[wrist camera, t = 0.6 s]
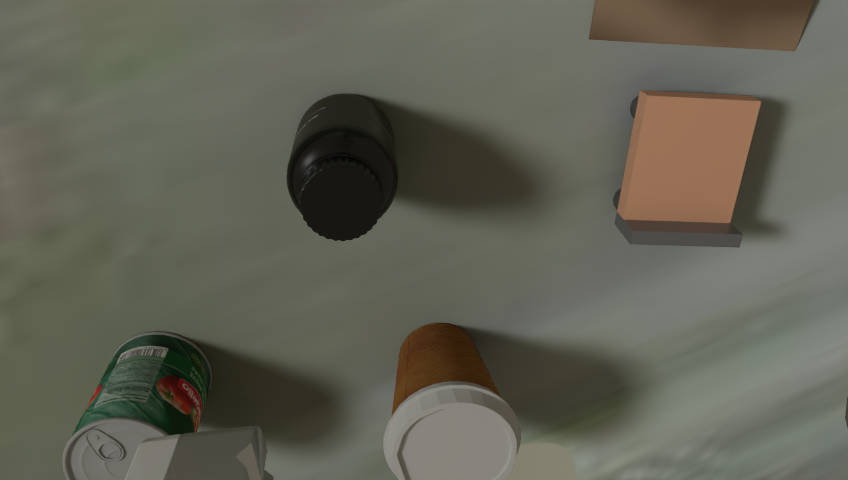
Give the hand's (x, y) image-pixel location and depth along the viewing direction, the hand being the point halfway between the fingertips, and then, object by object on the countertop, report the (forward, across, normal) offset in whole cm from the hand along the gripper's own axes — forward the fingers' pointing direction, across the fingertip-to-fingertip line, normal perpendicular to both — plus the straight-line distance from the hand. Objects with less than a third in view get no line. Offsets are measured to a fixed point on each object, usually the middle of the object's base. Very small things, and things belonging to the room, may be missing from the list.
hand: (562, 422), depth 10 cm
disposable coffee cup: (+45, 0, +28) cm, 53 cm away
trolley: (+44, -19, +13) cm, 50 cm away
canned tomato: (+45, +22, +26) cm, 56 cm away
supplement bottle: (+44, +5, +8) cm, 46 cm away
